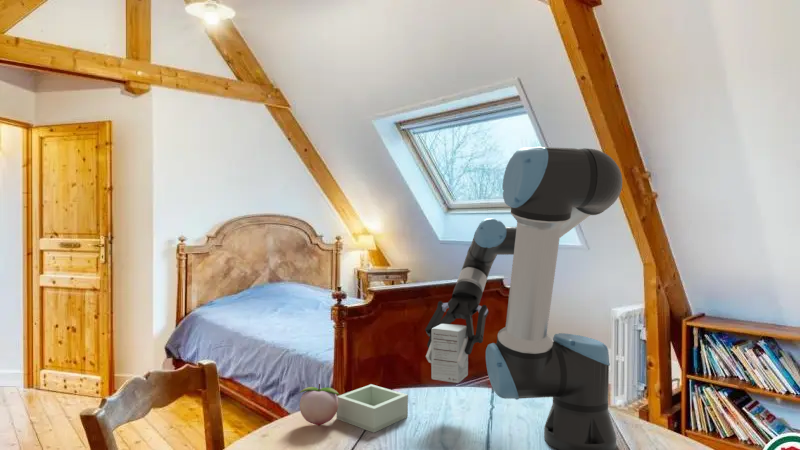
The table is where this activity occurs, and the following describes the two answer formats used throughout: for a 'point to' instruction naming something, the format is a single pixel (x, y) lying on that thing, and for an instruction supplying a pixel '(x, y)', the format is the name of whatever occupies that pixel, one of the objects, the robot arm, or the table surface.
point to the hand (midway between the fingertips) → (444, 361)
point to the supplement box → (448, 352)
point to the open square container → (372, 407)
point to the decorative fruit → (318, 404)
